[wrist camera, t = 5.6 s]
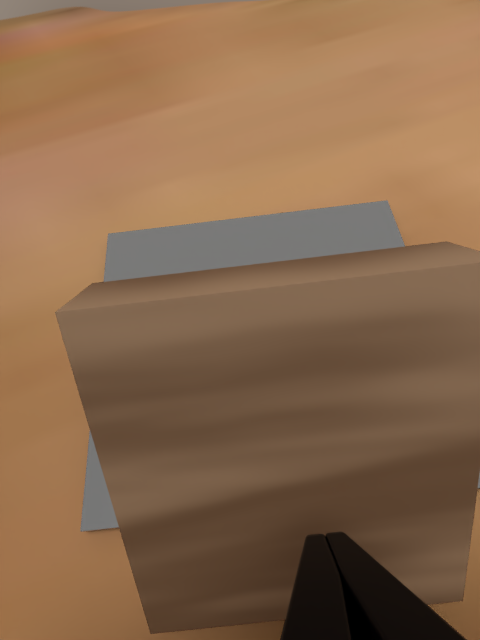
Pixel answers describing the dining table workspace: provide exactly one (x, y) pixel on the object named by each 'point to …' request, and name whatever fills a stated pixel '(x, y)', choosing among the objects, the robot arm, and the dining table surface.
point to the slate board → (229, 251)
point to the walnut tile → (284, 423)
